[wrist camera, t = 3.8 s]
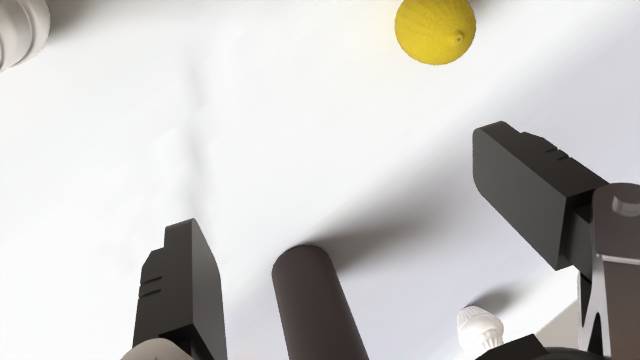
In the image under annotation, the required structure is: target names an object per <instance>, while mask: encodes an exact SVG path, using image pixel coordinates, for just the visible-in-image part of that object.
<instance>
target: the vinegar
mask: <svg viewBox="0 0 640 360" xmlns="http://www.w3.org/2000/svg"><path fill="white" fill-rule="evenodd" d="M272 280H273V284H274V289H275V294H276V299H277V303H278V308H279V313H280V317H281V322H282V327H283V331H284V336H285V341H286V345H287V350H288V355H289V360H369V358H368V355H367V352H366V350H365V347H364V345H363V342H362V339H361V337H360V334H359V332H358V329H357V326H356V324H355V321H354V319H353V316H352V313H351V311H350V308H349V305H348V303H347V300H346V298H345V295H344V292H343V290H342V287H341V285H340V282H339V279H338V277H337V274H336V272H335V269H334V266H333V264H332V261H331V259H330V257H329V256H328V254H327V253H326V252H324V251H323V250H322V249H320V248H317V247H314V246H301V247H296V248H293V249H291V250H289V251H287V252H285V253H284V254H283V255H281V256H280V257H279V258H278V259H277V261H276V262H275V264H274V265H273V269H272Z"/></svg>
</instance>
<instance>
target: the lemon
mask: <svg viewBox="0 0 640 360" xmlns="http://www.w3.org/2000/svg"><path fill="white" fill-rule="evenodd" d="M475 31H476V20H475V16H474V12H473V10H472V9H471V7H470V5H469V4H468V2H467V1H466V0H404V1H403V3H402V4H401V5H400V7H399V9H398V11H397V14H396V18H395V34H396V38H397V40H398V42H399V44H400V46H401V48H402V49H403V50H404V51H405V52H406V53H407V54H408V55H409V56H410V57H411V58H413V59H415V60H417V61H419V62H421V63H425V64H430V65H443V64H448V63H450V62H453V61H455V60H456V59H458V58H459V57H461V56H462V55H463V54H464V53H465V52H466V51H467V50H468V48H469V47H470V45H471V44H472V41H473V39H474V36H475Z"/></svg>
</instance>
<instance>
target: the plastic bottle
mask: <svg viewBox="0 0 640 360" xmlns="http://www.w3.org/2000/svg"><path fill="white" fill-rule="evenodd" d="M49 30H50V13H49V9H48V6H47V4H46V1H45V0H0V72H2V71H4V70H5V69H7V68H10V67H13V66H16V65H19V64H21V63H24V62H26V61H28V60H30V59H31V58H33V57H34V56H36V55H37V54H38V53H39V52H40V51H41V50H42V49H43V47H44V45H45V43H46V41H47V38H48V34H49Z"/></svg>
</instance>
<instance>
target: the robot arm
mask: <svg viewBox="0 0 640 360" xmlns="http://www.w3.org/2000/svg"><path fill="white" fill-rule="evenodd" d="M473 178H474V182H475V184H476V187H477V189H478V191H479V192H480V194H481V195H482V196H483V197H484V198H485V199H486V200H487V201H488V202H489V203H490V204H491V205H492V206H493V207H494V208H495V209H496V210H497V211H498V212H499V213H500V214H501V215H502V216H503V217H504V218H505V219H506V220H507V221H508V222H509V223H510V225H511V226H512V227H513V228H514V229H515V230H516V231H517V232H518V233H519V234H520V235H521V236H522V237H523V238H524V239H525V240H526V241H527V242H528V243H529V244H530V245H531V246H532V247H533V248H534V249H535V250H536V251H537V252H538V253H539V254H540V255H541V256H542V257H543V258H544V259H545V260H546V261H547V262H548V264H549V265H550V266H551V267H552V268H553V269H554V270H555V271H557V270H560V269H563V268H566V267H569V266H571V265H574V266H575V267H576V268H577V269H578V270H579V272H578V278H577V289H578V322H579V323H578V325H579V346H578V349H573V348H565V347H543V346H542V344H541V343H540V342H539V341H538V339H537V338H536V337H535V335H534V334H530V335H528V336H525V337H522V338H519V339H517V340H514V341H511V342H508V343H506V344H503V345H500V346H497V347H495V348H492V349H489V350H488V351H486V352H485V353H484V354H482V355H481V356H479V357H478V358H477V359H475V360H640V185H637V184H632V183H611V184H610V183H608V182H607V181H605V180H604V179H602V178H601V177H599V176H598V175H597V174H595V173H594V172H592V171H591V170H589V169H588V168H586V167H585V166H583V165H582V164H581V163H579V162H578V161H576V160H575V159H573V158H572V157H570V158H569V156H568V155H567V154H566V153H565V152H563V151H562V150H560V149H559V150H558V149H557V147H556V146H554V145H553V144H551V143H550V142H549V141H547V140H546V139H544V138H542V137H539V136H536V135H533V134H530V133H527V132H522V133H519V132H518V131H517V130H515V129H514V128H513V127H511V126H510V125H508V124H507V123H506V122H504V121H499V122H496V123H493V124H490V125H486V126H483V127H480V128H477V129H475V130H474V132H473ZM140 284H141V286H140V288H139V299H138V305H137V313H136V321H135V329H134V337H133V346H132V349H131V350H130V351H129V352H127V353H126V354H125V355H124V356H123V358H122V359H121V360H227V348H226V337H225V325H224V313H223V301H222V290H221V279H220V274H219V270H218V266H217V263H216V261H215V258H214V256H213V254H212V252H211V250H210V248H209V246H208V244H207V242H206V239H205V237H204V235H203V233H202V231H201V229H200V227H199V225H198V223H197V221H196V220H195V219H194V218H192V219H189V220H186V221H183V222H179V223H176V224H173V225H170V226H167V227H166V228H165V238H164V247H163V248H160V249H157V250H154V251H151V253H150V255H149V256H148V258H147V260H146V262H145V263H144V265H143V267H142V272H141V280H140Z"/></svg>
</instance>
